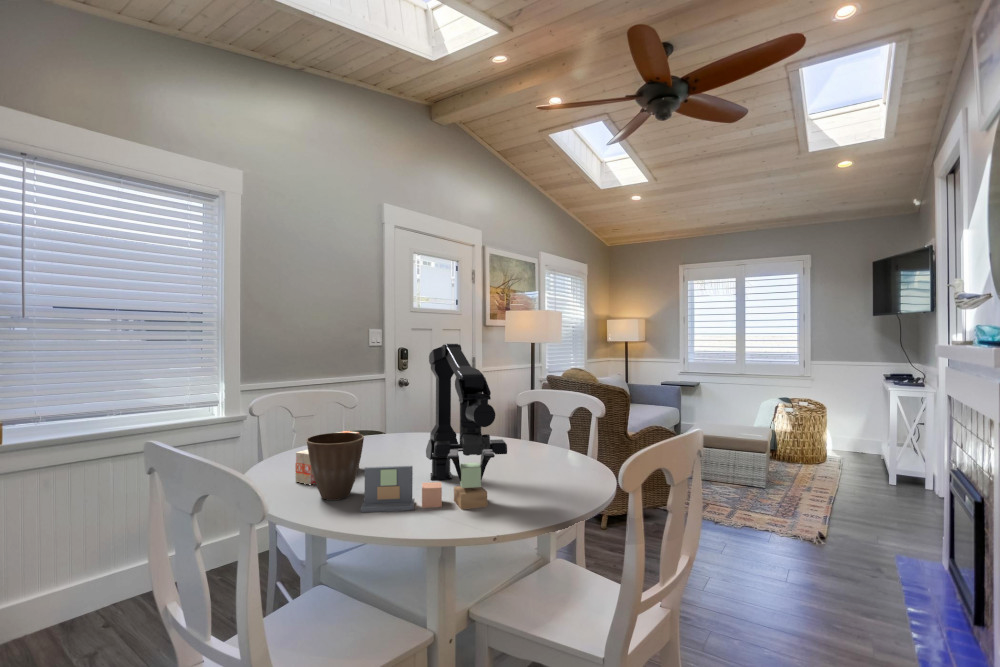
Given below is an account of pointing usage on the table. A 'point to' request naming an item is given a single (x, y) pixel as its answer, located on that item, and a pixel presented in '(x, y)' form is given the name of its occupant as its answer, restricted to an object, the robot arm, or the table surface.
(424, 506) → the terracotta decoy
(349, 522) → the table surface
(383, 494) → the card
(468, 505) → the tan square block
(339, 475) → the plant pot
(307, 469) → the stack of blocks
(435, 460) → the robot arm
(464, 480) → the sage block
